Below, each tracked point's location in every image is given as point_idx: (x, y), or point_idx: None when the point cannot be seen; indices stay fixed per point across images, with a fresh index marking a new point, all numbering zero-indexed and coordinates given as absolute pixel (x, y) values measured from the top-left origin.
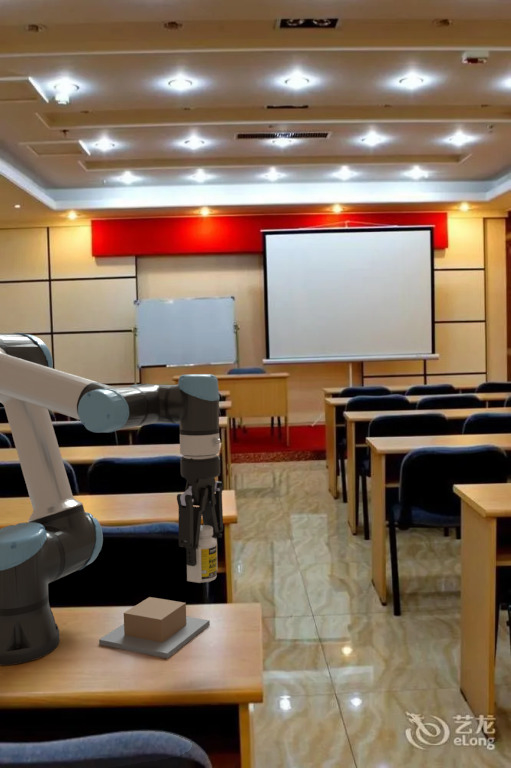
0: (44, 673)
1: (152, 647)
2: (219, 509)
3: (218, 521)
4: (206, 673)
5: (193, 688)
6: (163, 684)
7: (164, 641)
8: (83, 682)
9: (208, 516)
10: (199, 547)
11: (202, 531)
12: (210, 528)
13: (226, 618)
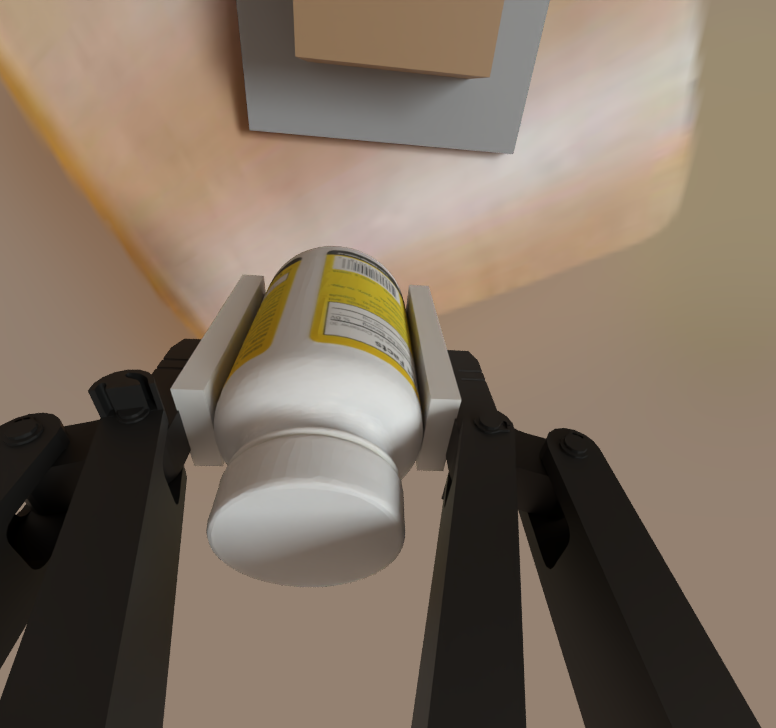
0: None
1: (259, 44)
2: (580, 708)
3: (539, 562)
4: (240, 274)
5: (167, 276)
6: (134, 196)
7: (318, 66)
8: None
9: (430, 635)
10: (212, 461)
11: (228, 562)
12: (319, 581)
13: (563, 185)
